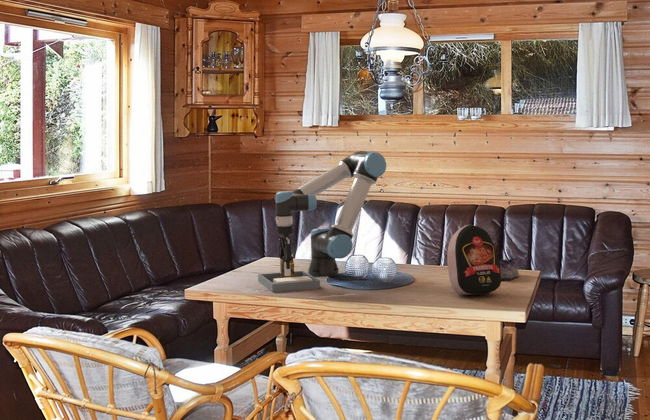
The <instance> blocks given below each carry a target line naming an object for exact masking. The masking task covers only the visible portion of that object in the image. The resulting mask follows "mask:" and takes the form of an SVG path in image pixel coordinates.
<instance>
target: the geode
mask: <svg viewBox="0 0 650 420" xmlns="http://www.w3.org/2000/svg"><path fill="white" fill-rule="evenodd" d="M499 264H500V271H501V281H507V280H509V281H510V280H511V281H512V280H513V279H515V278H516V279H517V278H519V265H518V258H517V257H515V258H512V257H511V259H506V258H505V259H502V260H499Z"/></svg>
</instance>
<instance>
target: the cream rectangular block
mask: <svg viewBox="0 0 650 420" xmlns="http://www.w3.org/2000/svg"><path fill="white" fill-rule="evenodd" d="M302 281H312V279H311V278H309V277H308V276H302V277H288V278H275V279H273V283H274V284H277V283H290V282H302Z"/></svg>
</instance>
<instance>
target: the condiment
mask: <svg viewBox="0 0 650 420" xmlns="http://www.w3.org/2000/svg"><path fill="white" fill-rule="evenodd" d="M288 259H289V258H288ZM284 261H285V256H283V257H282V263H281V278H288V277H294V271H295V262H294V257H293V256H292V261H291V262H290V264H291V276H285V270H284Z"/></svg>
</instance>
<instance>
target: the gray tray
mask: <svg viewBox="0 0 650 420" xmlns="http://www.w3.org/2000/svg"><path fill="white" fill-rule="evenodd" d="M302 276H308V277H309V278H311V279H312V281H302V282H290V283H277V284H274V283H273V279H275V278H281V273H280V272H269V273H268V272H267V273H258V274H257V278H258V279H257V280H258V281H257V282H258V283H259V284H261V285H262V286H263V287H265V288H266V289H267V290H269V291H270V292H271V293H279V292H291V291H292V292H294V291H304V290H305V291H306V290H317V289H320V288H321V280H320V279H318V278H317V277H313V276H311V275H310V274H308V272H306V271H304V270H298V271H297V270H294V277H302Z"/></svg>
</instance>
